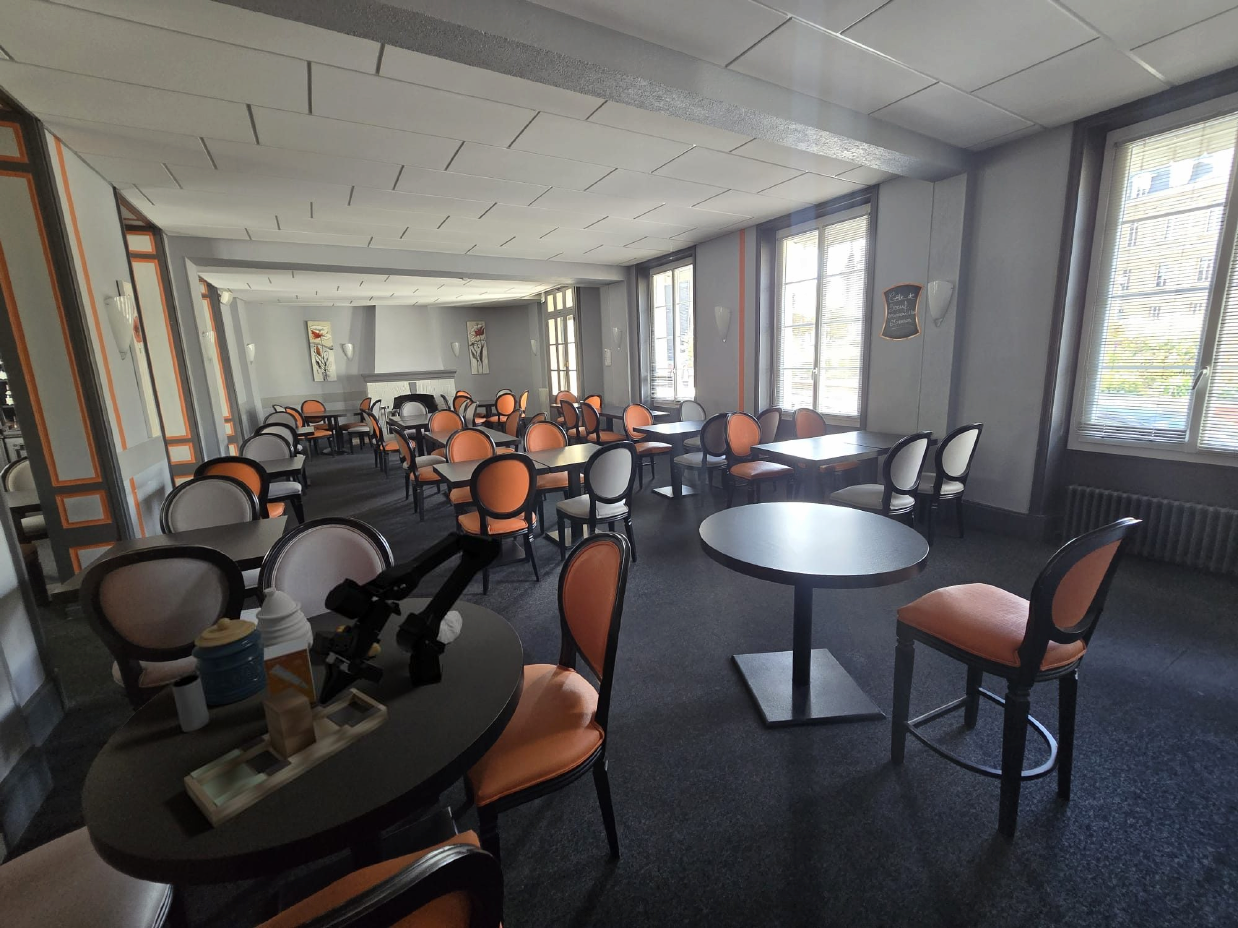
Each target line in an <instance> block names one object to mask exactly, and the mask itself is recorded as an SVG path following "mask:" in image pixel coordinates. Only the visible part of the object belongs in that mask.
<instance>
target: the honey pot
mask: <svg viewBox="0 0 1238 928" xmlns="http://www.w3.org/2000/svg"><path fill="white" fill-rule="evenodd" d="M263 591H264V594H265V595H266V597H265V599H264V601H263V603H262V605H261V608H260V610H258V611H257V612H256V614H255V619H257V623H256V624H255V625H256V627H255V629H258V630H260V631H261V632H262V636H261V638H260V641H261V643H263V644H264V648H267V647H271V646H274V645H278V644H281V643H284V642H288V641H292V640H296V639H300V638H303V637H306V640H307V647H308V651H310V649H311V647H312V643H313V638H314V636H313V631H312V628H311V623H310V622H309V621H308V619H307V618H306V617H305V614H304V613H303V612H302V611H301V608H302V605H301V602H300V601H297V600H293V599H292V598H291V597H290V596H289V595H288V594H287V593H285V592H283V591H281V590H277V587H268V588H266V589H264V590H263Z"/></svg>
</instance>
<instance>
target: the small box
mask: <svg viewBox="0 0 1238 928" xmlns="http://www.w3.org/2000/svg"><path fill="white" fill-rule="evenodd" d="M264 665H265V671H266V677H267V682H268V683H267V687H268V693H269V697H272V696H274V695H276V694H278V693H280V692H282V691H284V690H286V689H288V688H290V687H293V688H294V689H296V690H297V691H298V692H300V693H301V694H303V695H304V696H306V697H307V698H309V703H310V704H311V703H314V702H316V701H317V699H316V698H317V697H316V690H315V684H314V683H315V682H314V677H313V671H312V667H311V665H312V664H311V660H310V654H309V650H308V647H307V640H306V637H303V638H300V639H296V640H292V641H288V642H284V643H281V644H278V645H274V646H271V647H267V648H264Z"/></svg>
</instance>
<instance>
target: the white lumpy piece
mask: <svg viewBox="0 0 1238 928" xmlns="http://www.w3.org/2000/svg"><path fill="white" fill-rule="evenodd" d="M462 626H463V618H462V617H461V614H460V613H459V611H457V610H450V611H449V612H448V613H447V615H446V616H445V617H444V619H443V620H442V622H441V625H440V632H439V636H438V638H437V640H439V641H441V642H443V643H445V644H446V645H447V644H448V643H452V642H454V640H455V639H456V638H457V637H458V636H460V632H461V629H462V628H463V627H462Z"/></svg>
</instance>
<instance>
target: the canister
mask: <svg viewBox="0 0 1238 928" xmlns="http://www.w3.org/2000/svg"><path fill="white" fill-rule="evenodd" d="M256 625H257V624H256V623H255V622H254V621H252V620H251V621H249V620H245V619H231V620H230V618H227V617H223V618H220V619H219V620H218V621H217V622H216V624H214V625H212V626H209V627H208V628H207V629H205V630H203V631H202V633H200V634H199V635H198V636H197V637H196V638H195V640H194V645H195V647H194V648H193V649H192V651H191V656H192V657H193V658H194V659H196V660H195V661H196V663H195V665H194V669H195V671H196V673H197V675H199V676H200V679H201V684H202V688H203V692H204V697H205V701H206V705H210V706H223V705H228V704H229V705H230V704H233V703H236V702H238V701H241V700H244V699H246V698H248V697H249V698H250V697H251V696H253V695H255V694H256V693H257V692H259V691H260V690H261V689H264V688H265V686H266V685H268V682H267V677H266V671H265V665H264V644H263V643H261V641H260V638H261V636H262V632H261V631H260V630H258V629H256Z"/></svg>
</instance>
